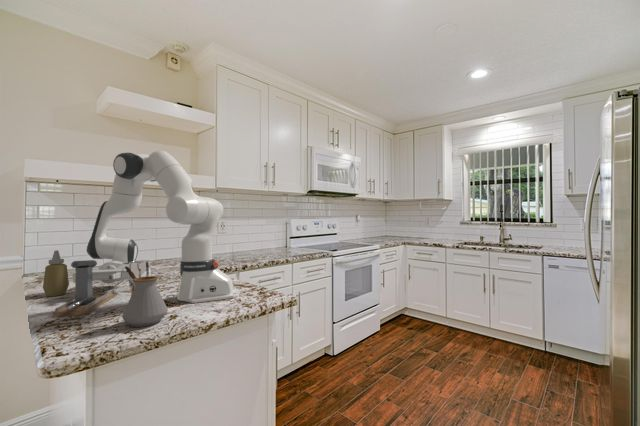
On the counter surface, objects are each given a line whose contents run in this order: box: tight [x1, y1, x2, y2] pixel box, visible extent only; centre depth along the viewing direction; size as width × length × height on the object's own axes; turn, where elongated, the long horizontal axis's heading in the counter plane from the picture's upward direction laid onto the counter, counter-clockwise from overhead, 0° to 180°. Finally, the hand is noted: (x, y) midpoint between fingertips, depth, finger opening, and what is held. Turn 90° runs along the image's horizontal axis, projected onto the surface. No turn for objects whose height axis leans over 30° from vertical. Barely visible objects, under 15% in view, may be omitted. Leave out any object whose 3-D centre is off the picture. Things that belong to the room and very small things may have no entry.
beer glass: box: [127, 259, 152, 296], centre depth 107 cm, size 7×7×15 cm
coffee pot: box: [121, 266, 168, 328], centre depth 90 cm, size 21×12×15 cm, turn 51°
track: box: [52, 289, 117, 318], centre depth 105 cm, size 9×24×2 cm, turn 16°
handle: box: [68, 259, 98, 310], centre depth 99 cm, size 7×12×14 cm, turn 16°
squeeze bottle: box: [42, 250, 70, 297], centre depth 121 cm, size 8×8×18 cm
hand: (96, 278), depth 112 cm, fingers open, 8 cm apart
